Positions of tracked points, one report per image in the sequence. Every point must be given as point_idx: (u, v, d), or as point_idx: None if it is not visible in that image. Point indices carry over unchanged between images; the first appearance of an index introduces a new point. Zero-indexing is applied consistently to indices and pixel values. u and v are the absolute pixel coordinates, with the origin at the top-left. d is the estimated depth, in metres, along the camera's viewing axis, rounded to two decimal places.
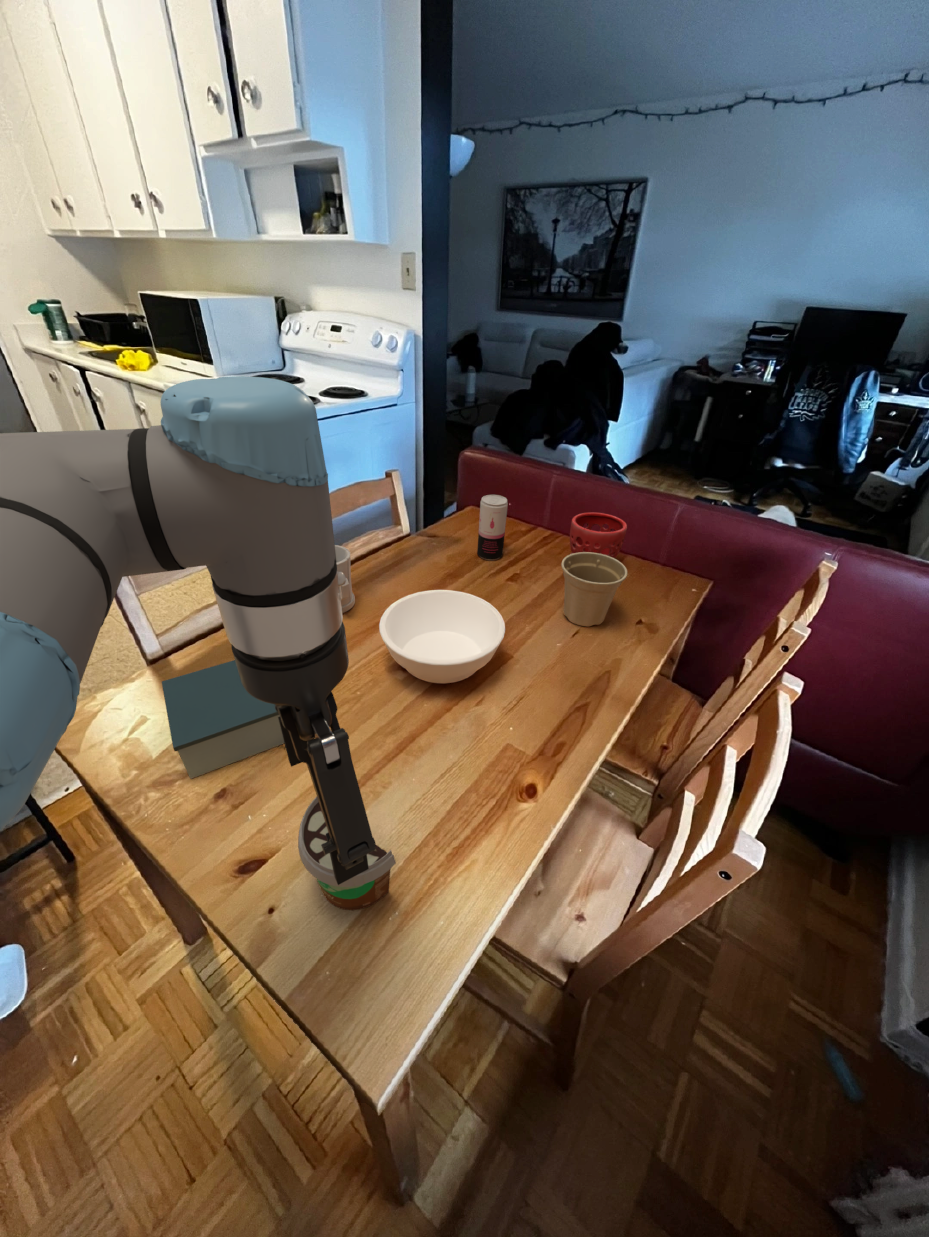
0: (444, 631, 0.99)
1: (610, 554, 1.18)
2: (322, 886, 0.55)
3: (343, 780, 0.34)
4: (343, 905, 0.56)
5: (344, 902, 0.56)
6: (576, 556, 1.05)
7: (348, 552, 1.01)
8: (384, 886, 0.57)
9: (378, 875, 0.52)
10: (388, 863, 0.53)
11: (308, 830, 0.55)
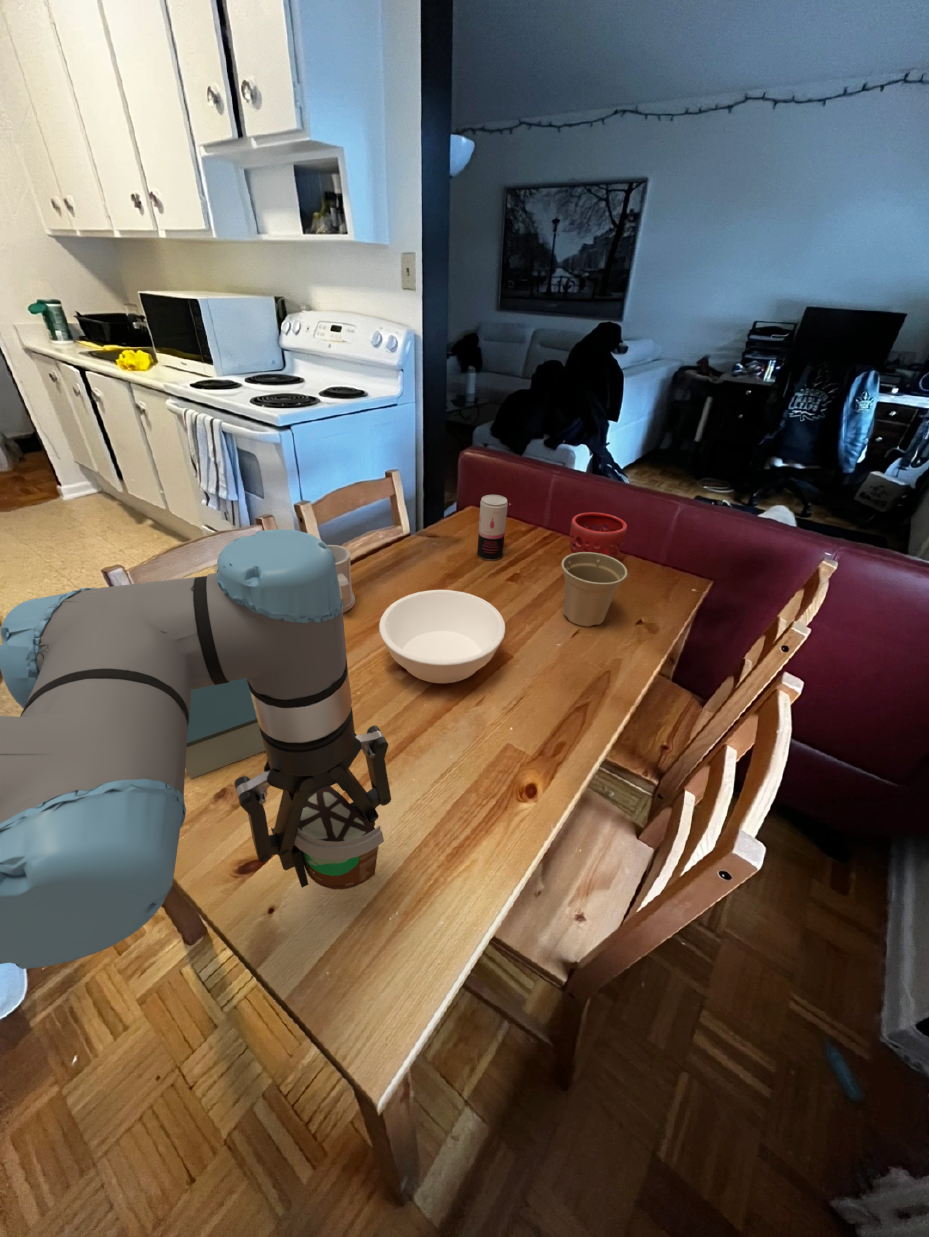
0: (444, 631, 0.99)
1: (610, 554, 1.18)
2: (304, 858, 0.51)
3: None
4: (324, 882, 0.52)
5: (325, 879, 0.51)
6: (576, 556, 1.05)
7: (348, 552, 1.01)
8: (370, 867, 0.53)
9: (363, 851, 0.48)
10: (375, 840, 0.48)
11: None
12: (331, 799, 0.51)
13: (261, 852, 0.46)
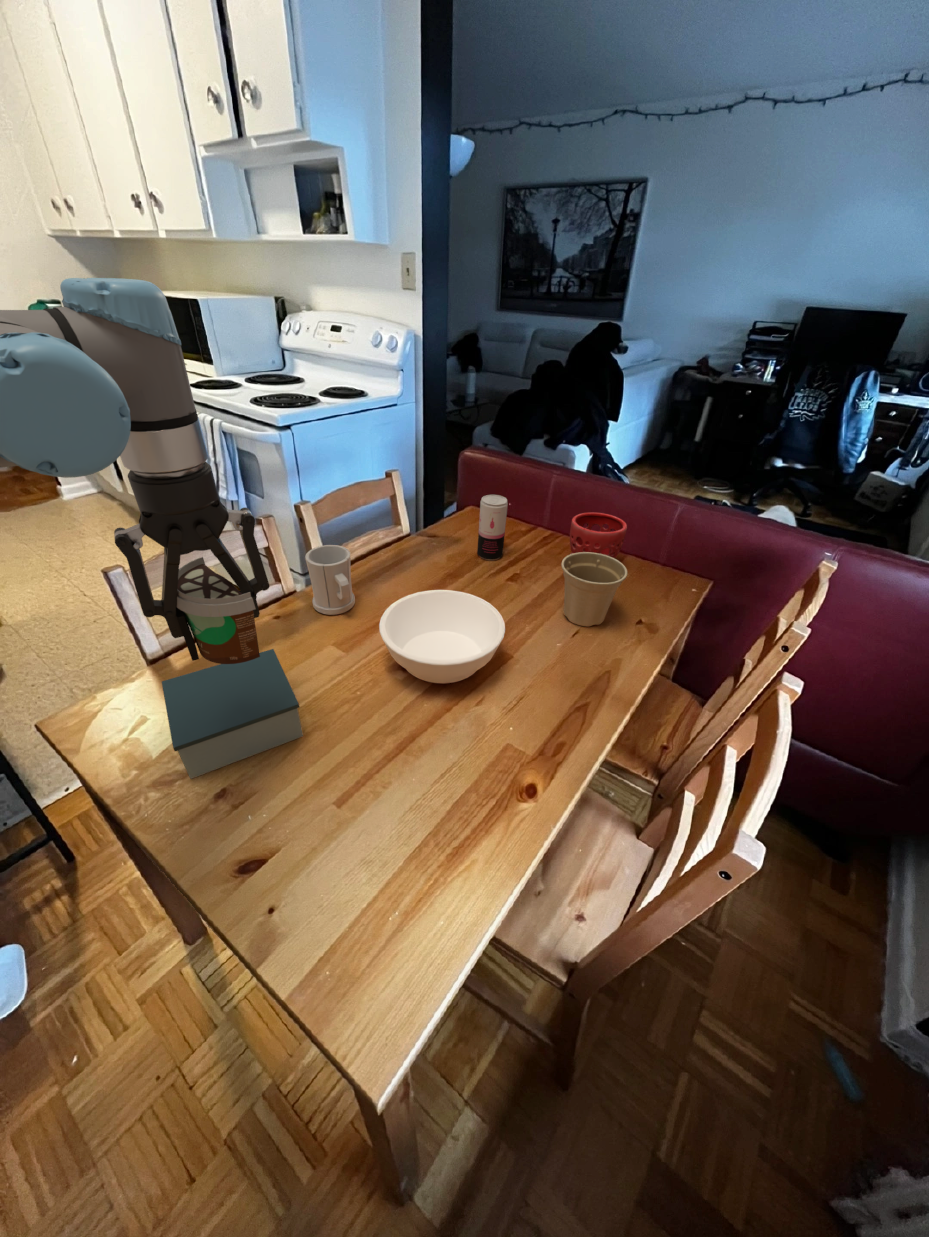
0: (444, 631, 0.99)
1: (610, 554, 1.18)
2: (192, 632, 0.60)
3: None
4: (211, 655, 0.60)
5: (211, 650, 0.60)
6: (576, 556, 1.05)
7: (348, 552, 1.01)
8: (252, 644, 0.61)
9: (235, 612, 0.56)
10: (246, 604, 0.56)
11: (184, 577, 0.59)
12: (214, 580, 0.59)
13: (144, 604, 0.54)
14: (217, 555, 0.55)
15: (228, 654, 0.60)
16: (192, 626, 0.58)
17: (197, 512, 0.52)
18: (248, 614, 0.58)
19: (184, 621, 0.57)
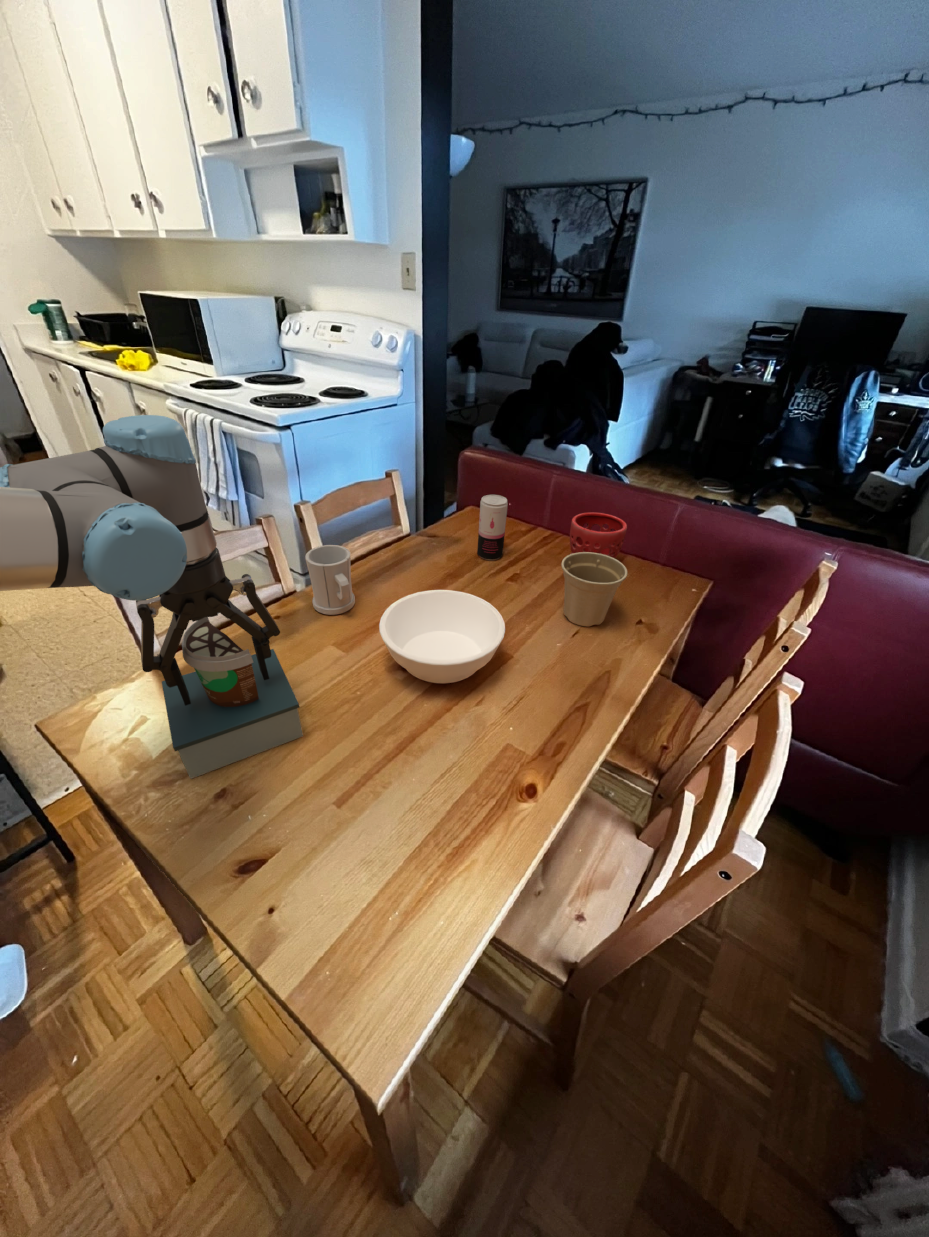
0: (444, 631, 0.99)
1: (610, 554, 1.18)
2: (201, 681, 0.70)
3: None
4: (217, 700, 0.71)
5: (217, 696, 0.71)
6: (576, 556, 1.05)
7: (348, 552, 1.01)
8: (252, 690, 0.72)
9: (236, 666, 0.67)
10: (245, 659, 0.67)
11: (192, 636, 0.70)
12: (218, 637, 0.70)
13: (145, 661, 0.64)
14: (229, 617, 0.66)
15: (232, 699, 0.71)
16: (201, 677, 0.69)
17: None
18: (247, 666, 0.69)
19: (178, 673, 0.67)
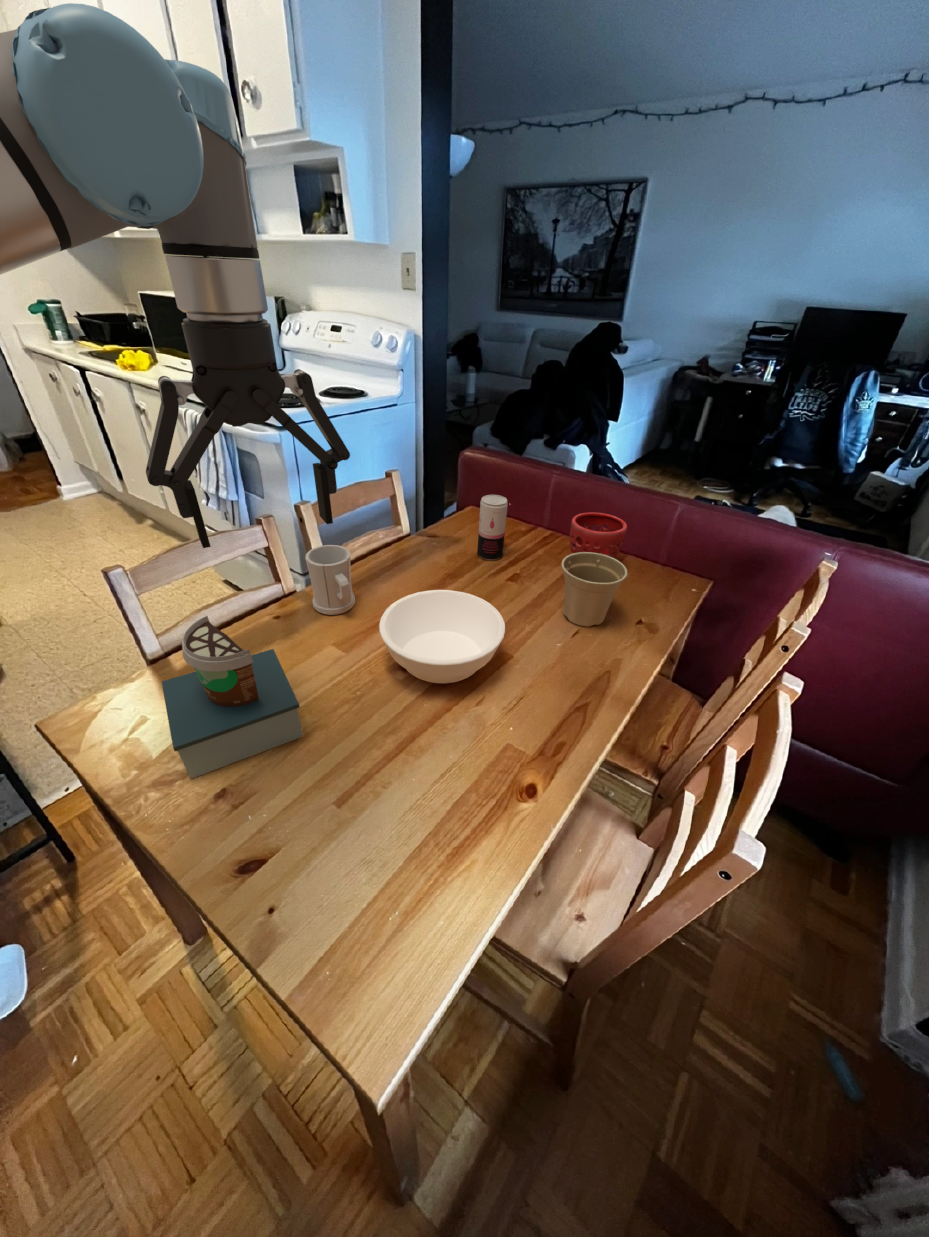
0: (444, 631, 0.99)
1: (610, 554, 1.18)
2: (201, 681, 0.70)
3: None
4: (217, 700, 0.71)
5: (217, 696, 0.71)
6: (576, 556, 1.05)
7: (348, 552, 1.01)
8: (252, 690, 0.72)
9: (236, 666, 0.67)
10: (245, 659, 0.67)
11: (192, 636, 0.70)
12: (218, 637, 0.70)
13: (154, 468, 0.47)
14: (284, 424, 0.51)
15: (232, 699, 0.71)
16: (201, 677, 0.69)
17: (253, 376, 0.48)
18: (247, 666, 0.69)
19: (194, 496, 0.50)
